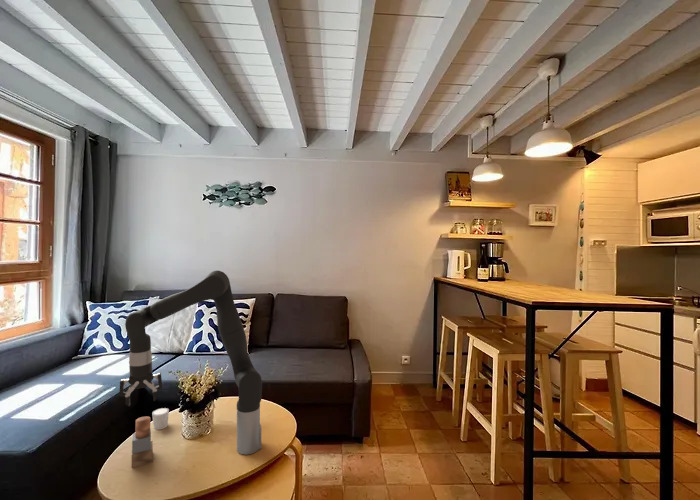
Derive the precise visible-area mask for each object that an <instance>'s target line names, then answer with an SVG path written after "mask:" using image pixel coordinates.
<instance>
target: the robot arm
mask: <svg viewBox="0 0 700 500" xmlns="http://www.w3.org/2000/svg"><path fill="white" fill-rule="evenodd" d="M209 300H213V302H214V305H215V310H216V322H217V329H218V333H219V336H220V339H221V342H222V345H223V346H224V349H225V352H226V354H227V356H228V358H229V360H230V363H231V367H232V371H233V377H234V381H235V385H236V386H237V388H238V400H237V402H236V452H237V453H239V454H240V455H246V456H247V455H252V454H254V453H256V452H258V451H259V450H262V424H261V402H262V396H263V395H262V392H263V391H262V390H263V381H262V376H261V374H260V373H259V372H258V371H257V370H256V368H255V366H254V365H253V362H252V361H251V358H250V355H249V351H248V341H247V335H246V332H245V328H244V325H243V322H242V319H241V317H240V314H239V310H238V309H237V305H236V303H235V301H234V296H233V292H232V287H231V283H230V278H229V277H228V275H227V273H225V272H224V271H221V270H213V271H211V272H209V274H207V275H206V276H205V277H204V278H203V279H202V280H201V281H199V282H198V283H196V284H195V285H193V286H192V287H190V288H188V289H186V290H183V291H181V292H177V293H173V294H171V295H169V296H166V297H163V298H161V299H160V300H158V301H156V302H155V301H154V303H152V304H151V305H147V306H145V307H143V308H140V309H138V310H136V311H133V312H131V313H129V314H128V315H127V316H126V318H125V322H124V323H125V324H124V325H125V331H126V333H127V334H126V335H127V336H128V339H129V340H128V341H129V356H128V360H129V361H128V364H129V366H128V367H129V377H128V378H126V379H125V378H121V379H120V381H119V395H118V396H119V397H120V398H121V397H124V398H125V403H124V404H125V406H127V407H130V406H131V394H132V393H133V391H134V390H135V389H136V390H139V389H146V388H147V387H148V388H149V389H150V390H152V395H153V396H152V397H153V402H156V400H157V399H158V391H160V390H162V389H163V382H162V381H163V379H162V373H161V372H159V371H158V373H156V374H153V354H152V353H153V352H152V345H151V344H152V342H151V340H152V339H151V336H150V335H149V334H148V333H146V327H148V326H150V325H151V324H154V323H157V322H158V321H159V320H164V319H166V318H168V317H169V316H170V317H171V316H173V315H174V314H176V313H178V312H181V311H182V310H184V309H187V308H189V307H191V306H194V305H196V304H199V303H201V302H205V301H209ZM154 379H155V381H157V382H158V385H156V384H154V382H153V380H154ZM127 384H130V386H129V387H128V389H127V390H126V391H124V389H125V386H126V385H127Z"/></svg>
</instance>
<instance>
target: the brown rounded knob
mask: <svg viewBox="0 0 700 500" xmlns="http://www.w3.org/2000/svg"><path fill="white" fill-rule="evenodd" d="M151 421H152V420H151V417H150V416H149V415H148V416H146V415H145V416H141V417H138V418H137V419H135V428H134V429H135V432H134V433H135V437H136V438H144V437H147V436H149V435H150V430H151Z"/></svg>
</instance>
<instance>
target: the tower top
mask: <svg viewBox="0 0 700 500" xmlns="http://www.w3.org/2000/svg"><path fill="white" fill-rule="evenodd" d="M151 434H152V430H151V429H150V435H149V436H147V437H144V438H136V437H135V432H134V433H132V438H131V439H132V440H131V442H132V443H131V455H132V454H135V453H139V452H143V451H148V450H151V441H152V440H151V439H152V438H151V436H152V435H151Z"/></svg>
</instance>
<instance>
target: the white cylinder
mask: <svg viewBox="0 0 700 500" xmlns="http://www.w3.org/2000/svg"><path fill="white" fill-rule="evenodd" d="M169 413H170V409H169V408H168V407H167V408H166V407H164V408H163V407H161V408H157V409H155V410H153V411H152V413H151V414H152V415H151V416H152V425H153V429H154V430H157V431H158V430H163V429H165V428H167V427H168V426H169V425H168V424H169Z"/></svg>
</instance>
